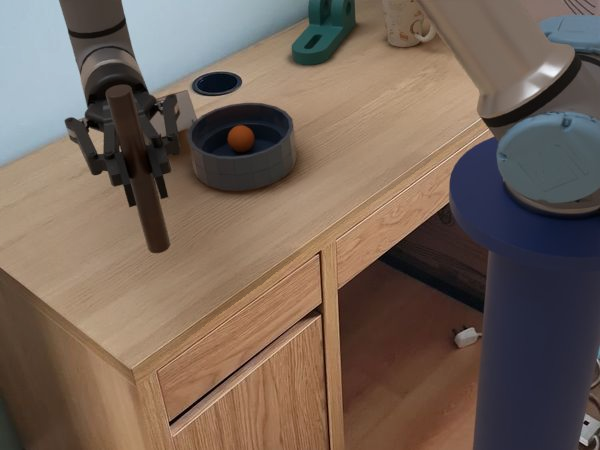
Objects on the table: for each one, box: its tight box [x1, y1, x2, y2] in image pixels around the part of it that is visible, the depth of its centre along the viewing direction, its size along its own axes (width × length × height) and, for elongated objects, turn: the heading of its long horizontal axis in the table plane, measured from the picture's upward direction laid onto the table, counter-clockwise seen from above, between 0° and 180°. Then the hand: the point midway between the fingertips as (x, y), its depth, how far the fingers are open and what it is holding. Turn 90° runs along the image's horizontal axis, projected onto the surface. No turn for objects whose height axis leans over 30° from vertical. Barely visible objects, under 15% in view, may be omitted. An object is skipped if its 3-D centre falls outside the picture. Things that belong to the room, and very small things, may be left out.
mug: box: [381, 0, 437, 48], centre depth 140 cm, size 8×13×10 cm, turn 36°
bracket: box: [291, 0, 357, 66], centre depth 144 cm, size 18×7×8 cm, turn 157°
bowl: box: [187, 102, 298, 192], centre depth 115 cm, size 15×15×6 cm
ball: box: [228, 125, 254, 152], centre depth 117 cm, size 4×4×4 cm
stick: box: [106, 85, 171, 254], centre depth 84 cm, size 3×3×20 cm
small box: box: [150, 89, 198, 138], centre depth 120 cm, size 8×6×10 cm
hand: (146, 191), depth 79 cm, fingers closed on stick, 3 cm apart
